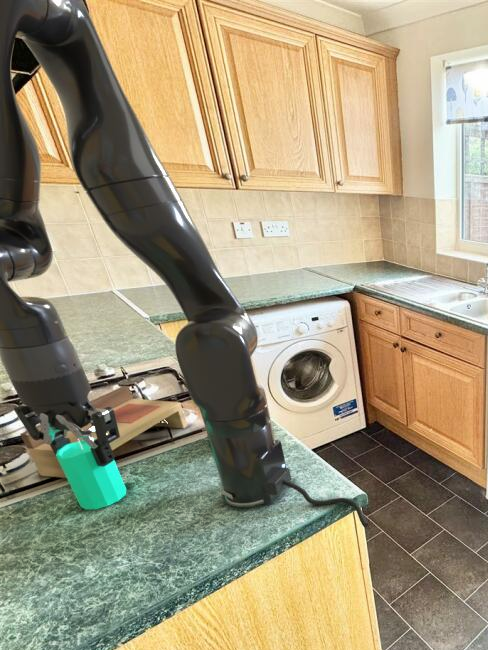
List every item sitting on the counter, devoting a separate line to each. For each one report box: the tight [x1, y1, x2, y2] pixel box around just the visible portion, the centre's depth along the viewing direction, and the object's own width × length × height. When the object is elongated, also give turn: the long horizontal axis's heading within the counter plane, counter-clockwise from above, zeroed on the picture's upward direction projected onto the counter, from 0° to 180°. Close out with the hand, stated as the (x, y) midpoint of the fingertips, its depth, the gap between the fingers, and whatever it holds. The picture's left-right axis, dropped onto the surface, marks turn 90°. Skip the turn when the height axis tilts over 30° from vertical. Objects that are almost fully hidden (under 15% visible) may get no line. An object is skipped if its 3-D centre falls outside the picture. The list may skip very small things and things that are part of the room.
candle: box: [56, 438, 127, 510], centre depth 70 cm, size 6×6×12 cm
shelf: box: [20, 385, 188, 479], centre depth 84 cm, size 12×20×9 cm, turn 176°
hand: (87, 461), depth 69 cm, fingers closed on candle, 6 cm apart
